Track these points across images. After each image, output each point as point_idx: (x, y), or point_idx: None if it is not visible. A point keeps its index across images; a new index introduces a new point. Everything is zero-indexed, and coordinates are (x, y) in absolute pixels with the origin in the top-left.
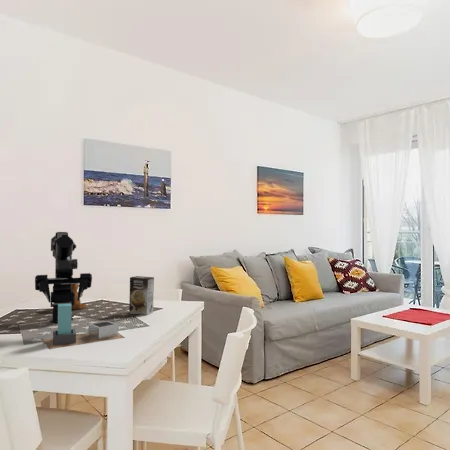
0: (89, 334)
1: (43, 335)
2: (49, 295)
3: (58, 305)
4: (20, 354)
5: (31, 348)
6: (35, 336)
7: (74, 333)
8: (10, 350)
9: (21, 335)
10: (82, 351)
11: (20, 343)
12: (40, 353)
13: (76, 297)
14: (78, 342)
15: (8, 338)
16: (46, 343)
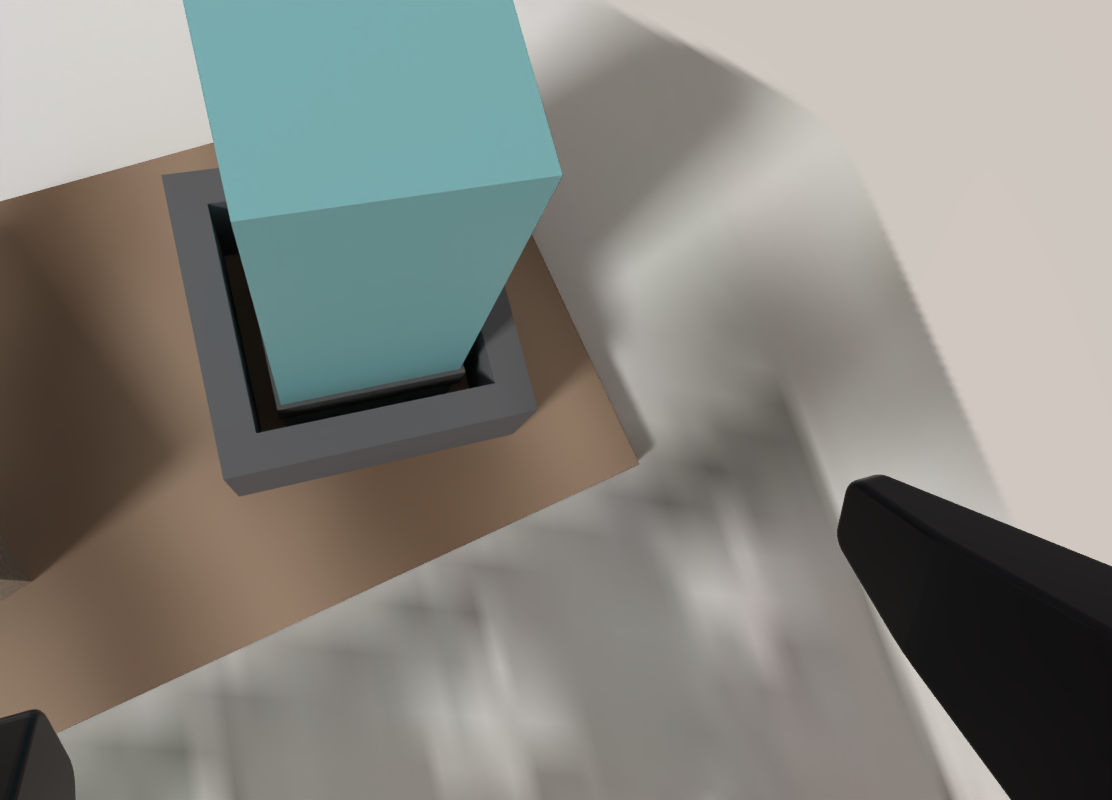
0: (5, 551)
1: (708, 773)
2: (1000, 552)
3: (508, 10)
4: (699, 77)
5: (665, 240)
6: (788, 729)
7: (187, 196)
8: (833, 217)
9: (962, 791)
10: (78, 12)
11: (838, 441)
12: None
13: None
14: (151, 249)
15: None
16: (544, 283)
